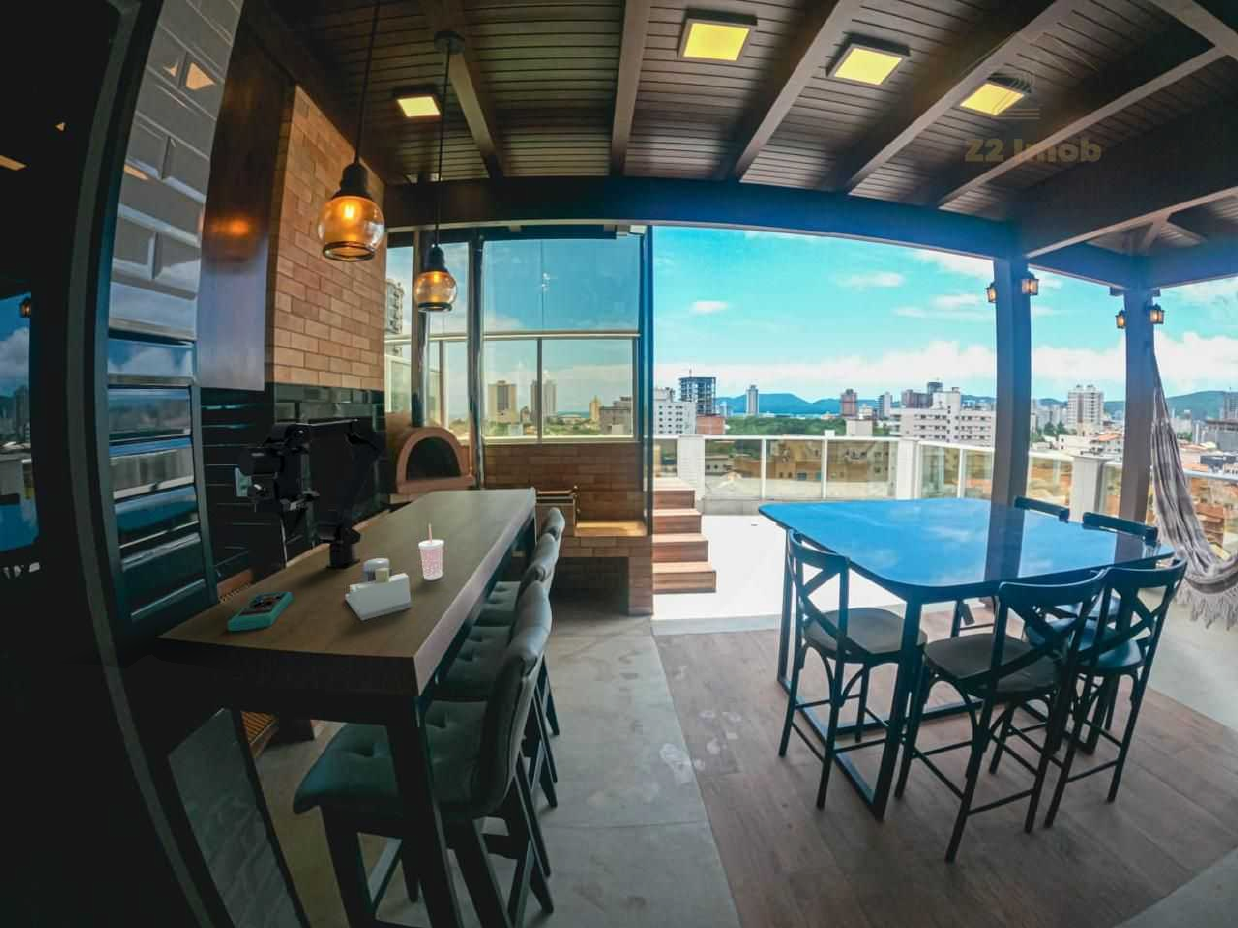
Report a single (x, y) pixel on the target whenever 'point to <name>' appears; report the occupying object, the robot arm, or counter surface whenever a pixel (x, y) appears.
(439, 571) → the beverage cup
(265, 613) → the digital multimeter
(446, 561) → the counter surface
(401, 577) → the knob mount
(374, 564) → the knob
